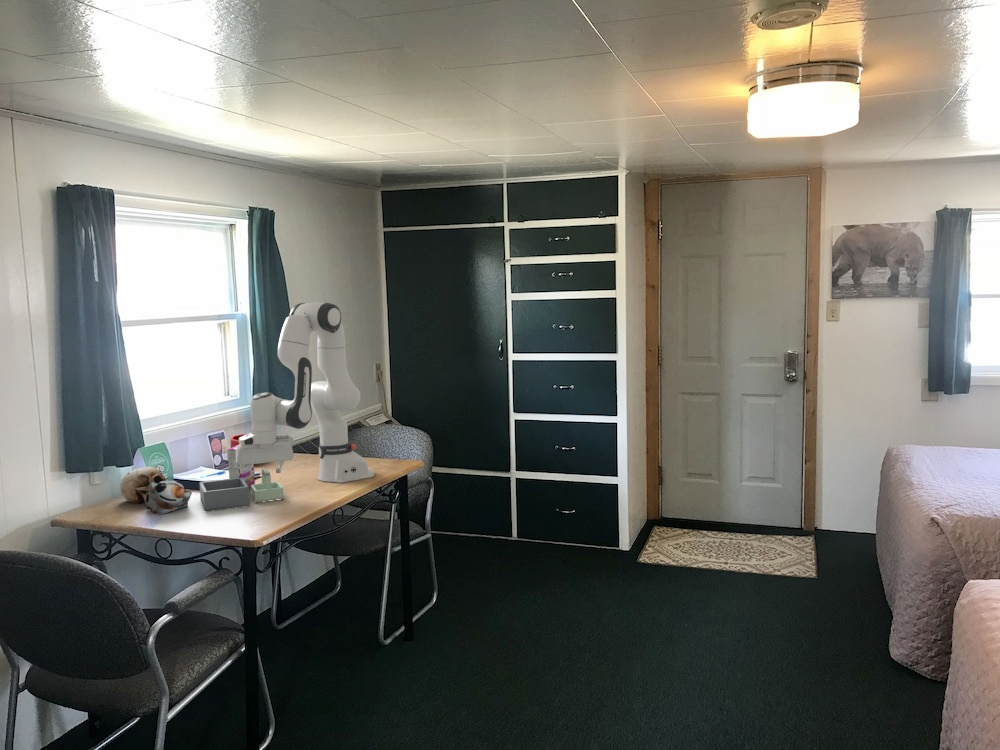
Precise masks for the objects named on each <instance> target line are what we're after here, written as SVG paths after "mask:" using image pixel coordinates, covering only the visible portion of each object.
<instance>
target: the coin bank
mask: <svg viewBox="0 0 1000 750" xmlns="http://www.w3.org/2000/svg"><path fill="white" fill-rule="evenodd" d="M167 480H168V479H166V477H165V475H164V474H163V472H162V471H160V470H158V468H156V467H154V466H145V467H138V468H136V469H133V470H131V471H129V472H127V473H126V474H124V476H123V477H122V479H121V481H120V489H119V491H120V495H121V496H122V497H123V499H125V500H126V501H127V502H130V503H132V502H133V503H132V504H137V503H138V504H139V503H145V505H146V496H147V494H148V493H149V492H150V484H151V483H153V482H155V483H156V484H158V483H159V482H161V481H167Z"/></svg>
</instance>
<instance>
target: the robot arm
mask: <svg viewBox="0 0 1000 750" xmlns="http://www.w3.org/2000/svg"><path fill="white" fill-rule="evenodd" d="M282 325H283V326H282V328H281V332H280V334H279V335H280V336H279V338H278V339H279V340H278V344H277V345H278V346H277V358H278V360H279V362H281V364H282V365H283V366H284V367H286V368H288V370H289V369H290V371H291V372H292V374H293V375H294V379H295V381H294V398H293V400H290V399H289V400H288V399H283V398H280V397H277V396H276V395H274V394H273V393H272V392H269V391H268V392H267V391H265V392H259V393H256V394H254V395H253V396H252V398H251V400H250V410H249V411H250V413H249V415H250V416H249V417H250V421H251V428H250V432H249V433H246V434H247V435H244V436H241V437H239V443H240V444H239V445H238V446H237V450H236V463H237V464H238V465H247V468H248V469H249V470H250V476H254V477H256V471H255V469H254V470H253V471H252V470H251V468H250V467H251V464H254V465H257V464H267V463H277V462H278V464H279V465H278V467H275V473H276V474H282V473H281V472H282V467H283V466H284V462H285V461H292V460H293V459H294V450H293V445H294V439H293V437H292V436H290V435H287V434H286V435H277V425H279V426H284V427H290V428H292V429H293V428H294V429H297V430H300V429H303V428H306V427H307V426H308V424H310V421H312V420H311V419H312V416H313V413H314V414H315V416H316V420H317V423H318V431H319V443H318V455H319V467H318V468H319V469H318V473H317V481H318V480H319V481H321V482H331V483H339V484H341V483H346V482H353V481H358V480H365V479H371V478H373V477H375V472H374V471H373V470H371V469H370V468H369V466H368V462H367V460H366V459H365V458H364V457H362V455H360V454H359V453H357V452H355V451H354V450H356V449H357V445H356V444H355V443H351V442H350V441H349V437H348V436H349V432H348V423H347V421H346V420H345V419H344V418H343V417H342V416H341V413H340V411H350V410H351V411H352V410H354V409H355V408H357V407H358V406H359V404H360V403H361V402H360V401H361V392H360V390H359V388H358V387H357V386H356V385H355V384H354V382H353V380H352V379H351V377H350V374H349V371H348V367H347V355H346V353H347V351H346V350H347V349H346V348H347V347H346V336H345V328H344V325H343V323H342V312H341V309H340V308H339V307H338V305H336V304H334V303H331V302H321V301H313V302H307V303H306V302H300V303H298V304H295V305H294V306H293V307H292V309H290V312H289V315H288V316H287V317H286V318H285V320H284V323H283V324H282ZM313 332H316V335H317V338H316V339H317V340H316V342H317V343H316V346H317V350H316V353H317V357H316V358H317V368H318V369H319V370H320V371H321V372H322V373H323V374H324V375H323V376H324V377H325V379H326V381H325V380H318V381H313V382H312V380H313V379H312V378H313V369H312V368H313V367H312V362H311V361H310V359H309V347H310V340H311V334H312V333H313ZM312 410H313V411H312Z"/></svg>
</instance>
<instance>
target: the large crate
mask: <svg viewBox="0 0 1000 750" xmlns="http://www.w3.org/2000/svg"><path fill="white" fill-rule="evenodd" d="M249 490H250V489H249V487H248V486H247V484H246V483H245V481H244V480H243V478H234V479H229V478H226V479H218V480H217V479H216V480H209V481H200V482H199V494H200V495H199V497H200V502H201V506H202V507H203V510H204V512H205V511H207V512H213V511H212V510H214V511H220V510H219V509H222V510H228V509H227V508H230V509H236V508H235V507H238V508H244V507H243V506H246V507H249V506H250V494H249V493H250V491H249Z"/></svg>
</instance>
